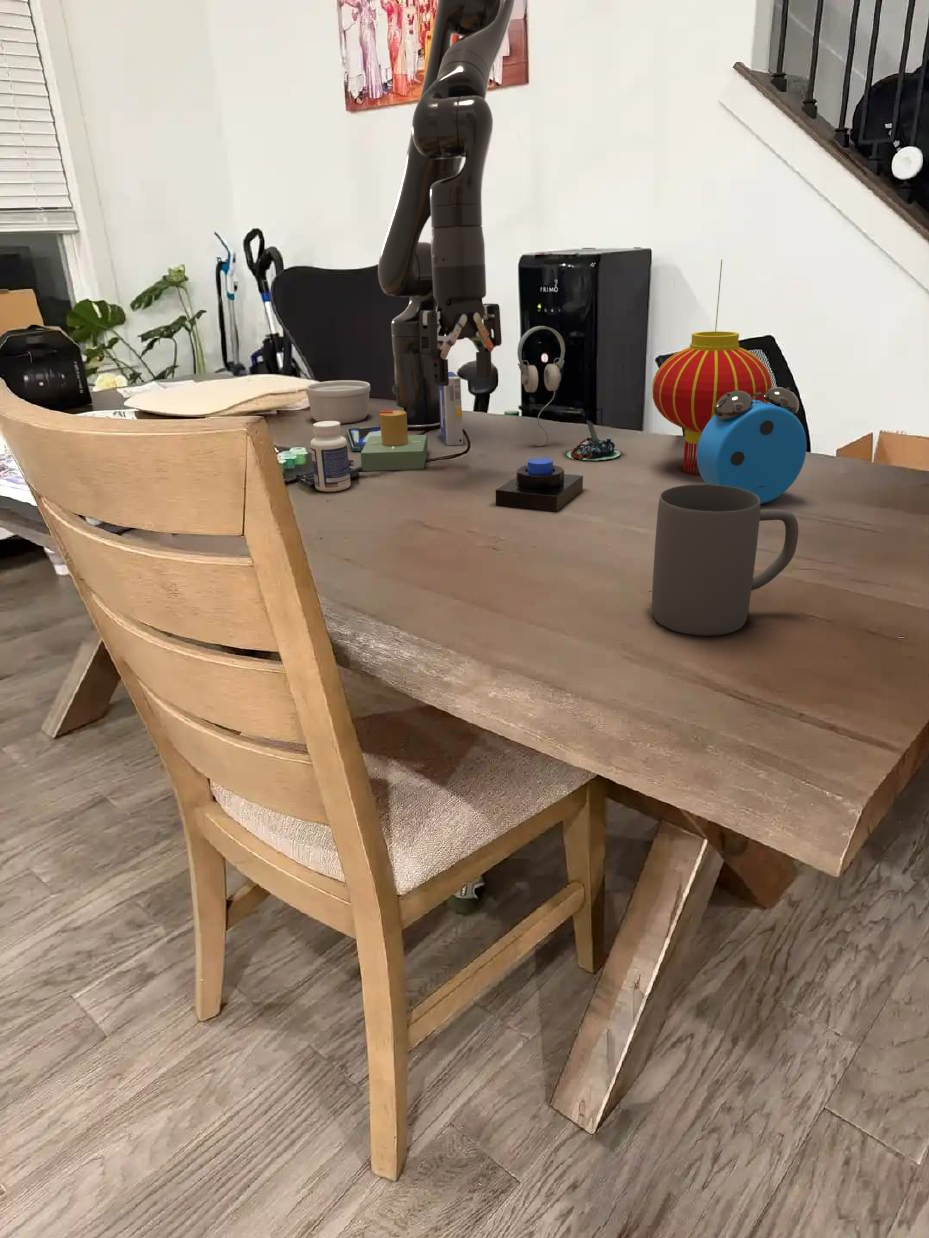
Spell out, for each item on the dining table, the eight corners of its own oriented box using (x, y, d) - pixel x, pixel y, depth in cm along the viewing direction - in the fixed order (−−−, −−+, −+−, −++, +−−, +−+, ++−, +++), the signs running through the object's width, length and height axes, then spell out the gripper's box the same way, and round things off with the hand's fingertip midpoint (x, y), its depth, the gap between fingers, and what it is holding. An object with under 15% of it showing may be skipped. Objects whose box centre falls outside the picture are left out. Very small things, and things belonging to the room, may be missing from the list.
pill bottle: (357, 484, 130) (351, 420, 125) (338, 494, 125) (332, 428, 121) (328, 481, 132) (321, 418, 128) (308, 490, 127) (300, 426, 123)
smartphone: (352, 447, 148) (346, 428, 162) (352, 453, 149) (346, 433, 162) (393, 444, 150) (384, 425, 163) (394, 449, 150) (385, 430, 163)
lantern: (784, 468, 129) (811, 256, 117) (715, 491, 120) (737, 263, 107) (693, 450, 142) (709, 256, 129) (624, 470, 132) (633, 262, 119)
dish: (612, 447, 135) (588, 414, 138) (578, 476, 138) (556, 443, 141) (632, 460, 142) (609, 428, 145) (599, 488, 145) (577, 456, 148)
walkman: (440, 436, 158) (437, 370, 153) (455, 435, 158) (452, 369, 153) (447, 446, 151) (444, 377, 146) (463, 444, 151) (460, 376, 146)
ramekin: (377, 412, 182) (375, 379, 179) (365, 425, 170) (363, 390, 167) (317, 413, 183) (314, 380, 180) (301, 426, 171) (297, 391, 168)
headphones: (559, 441, 151) (560, 324, 143) (567, 446, 148) (569, 326, 139) (515, 445, 149) (514, 327, 141) (522, 450, 146) (521, 329, 138)
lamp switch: (525, 484, 126) (525, 458, 125) (582, 490, 123) (583, 463, 121) (495, 505, 117) (495, 477, 116) (556, 512, 114) (556, 483, 112)
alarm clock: (776, 490, 119) (789, 381, 113) (801, 502, 114) (817, 389, 108) (691, 499, 117) (700, 389, 110) (713, 512, 111) (724, 396, 105)
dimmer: (370, 453, 148) (369, 435, 146) (427, 451, 147) (426, 433, 146) (362, 471, 137) (360, 451, 135) (423, 469, 137) (422, 450, 135)
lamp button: (533, 468, 121) (532, 456, 120) (556, 470, 119) (556, 458, 118) (523, 475, 118) (523, 462, 117) (547, 477, 116) (547, 464, 116)
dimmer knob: (409, 439, 143) (407, 408, 140) (406, 445, 139) (404, 413, 136) (383, 440, 143) (381, 408, 141) (380, 446, 139) (377, 414, 137)
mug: (669, 641, 77) (679, 515, 72) (638, 602, 86) (644, 487, 81) (810, 628, 79) (829, 504, 74) (765, 591, 87) (780, 477, 82)
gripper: (439, 265, 111) (445, 390, 118) (512, 260, 120) (514, 377, 127) (402, 266, 116) (410, 386, 123) (475, 261, 125) (479, 373, 132)
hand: (463, 381), depth 125 cm, fingers open, 8 cm apart
